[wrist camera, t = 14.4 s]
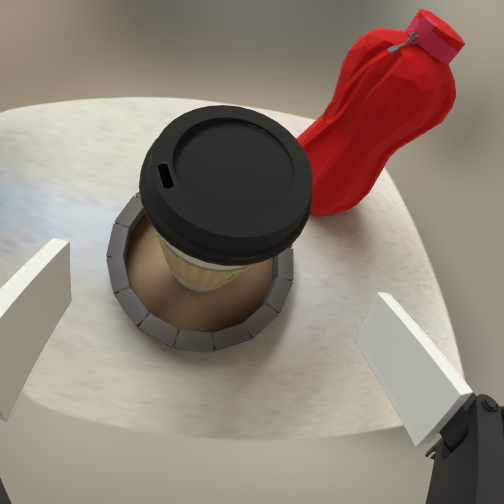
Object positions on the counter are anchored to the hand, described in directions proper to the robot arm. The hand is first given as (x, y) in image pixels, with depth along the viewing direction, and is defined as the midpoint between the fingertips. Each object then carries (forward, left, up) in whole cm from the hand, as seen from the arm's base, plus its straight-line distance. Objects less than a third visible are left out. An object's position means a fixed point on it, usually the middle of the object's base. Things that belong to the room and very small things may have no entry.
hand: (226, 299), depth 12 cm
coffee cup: (-3, +7, -16) cm, 17 cm away
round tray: (-3, +7, -16) cm, 18 cm away
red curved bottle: (+4, +22, -16) cm, 28 cm away
